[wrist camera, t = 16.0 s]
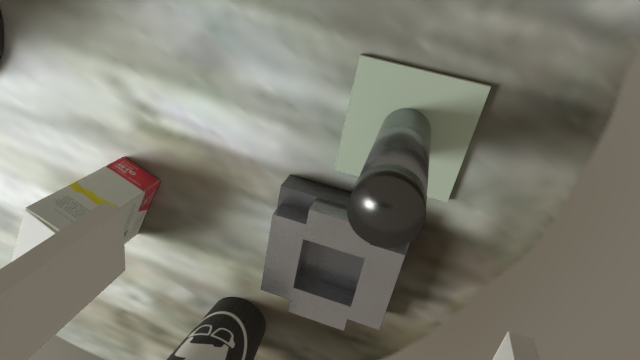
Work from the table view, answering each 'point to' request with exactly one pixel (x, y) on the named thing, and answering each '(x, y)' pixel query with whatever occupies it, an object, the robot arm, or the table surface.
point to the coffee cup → (224, 333)
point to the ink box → (90, 203)
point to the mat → (422, 95)
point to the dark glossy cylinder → (393, 182)
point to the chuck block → (327, 259)
